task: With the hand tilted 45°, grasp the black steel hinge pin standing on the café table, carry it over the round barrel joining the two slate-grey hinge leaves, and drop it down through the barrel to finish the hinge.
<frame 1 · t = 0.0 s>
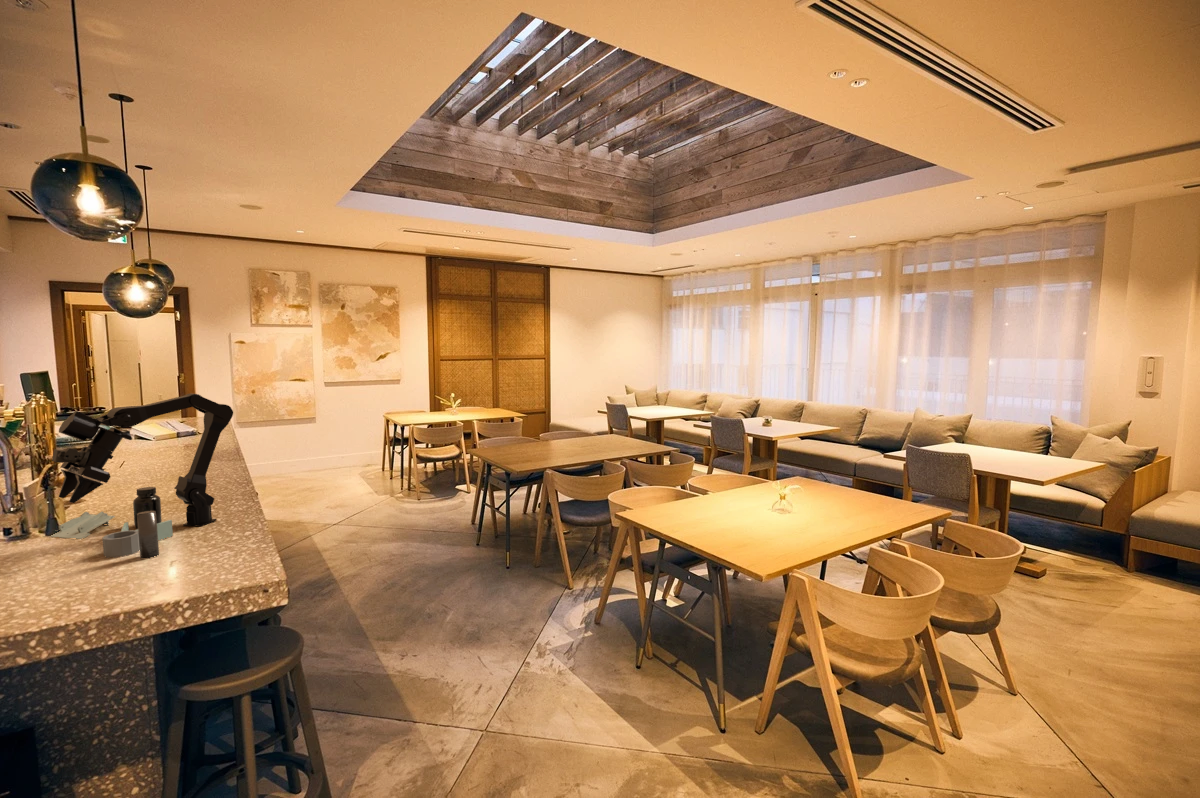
hand: (66, 500, 155), 15 cm above the countertop, tool tilted 35°, fingers open, 9 cm apart
hinge pin: (149, 556, 153), on the countertop
metal bracket: (83, 533, 175), on the countertop
hinge: (122, 552, 156), on the countertop
supplement bottle: (148, 525, 180), on the countertop
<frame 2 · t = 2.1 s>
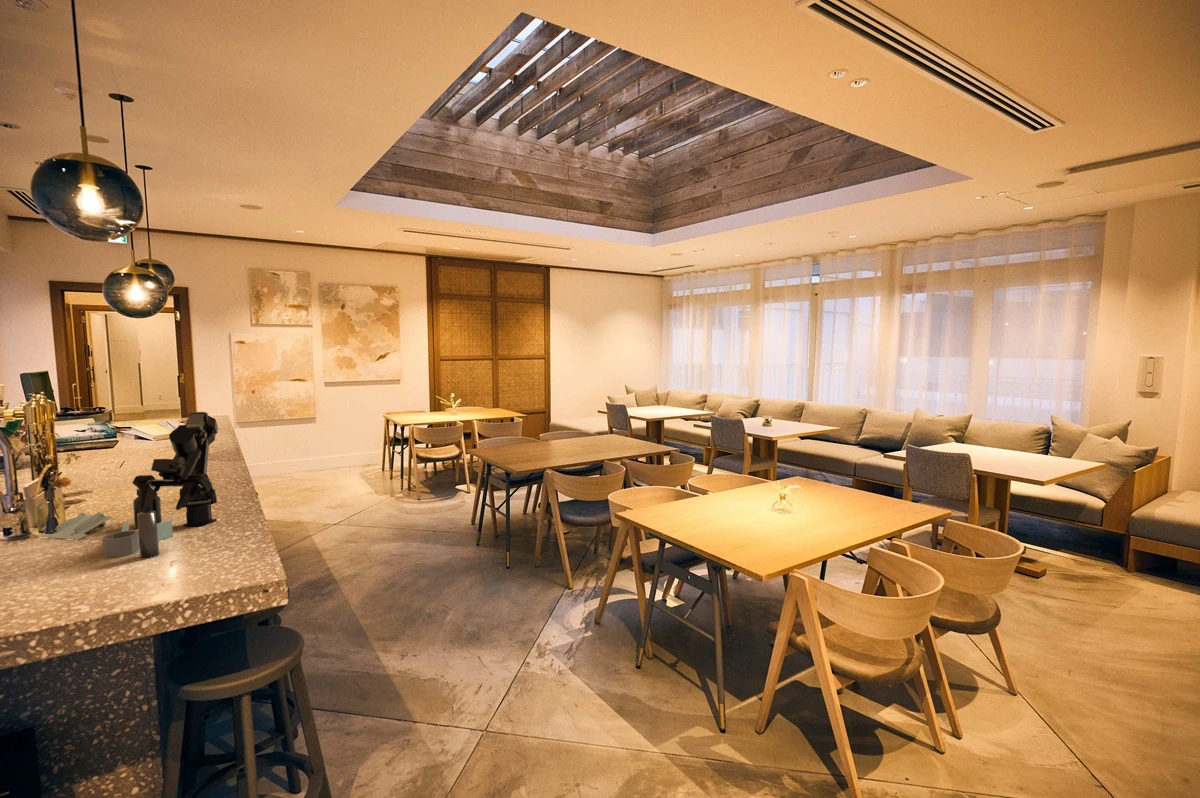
hand: (159, 509, 157), 11 cm above the countertop, tool tilted 45°, fingers open, 9 cm apart
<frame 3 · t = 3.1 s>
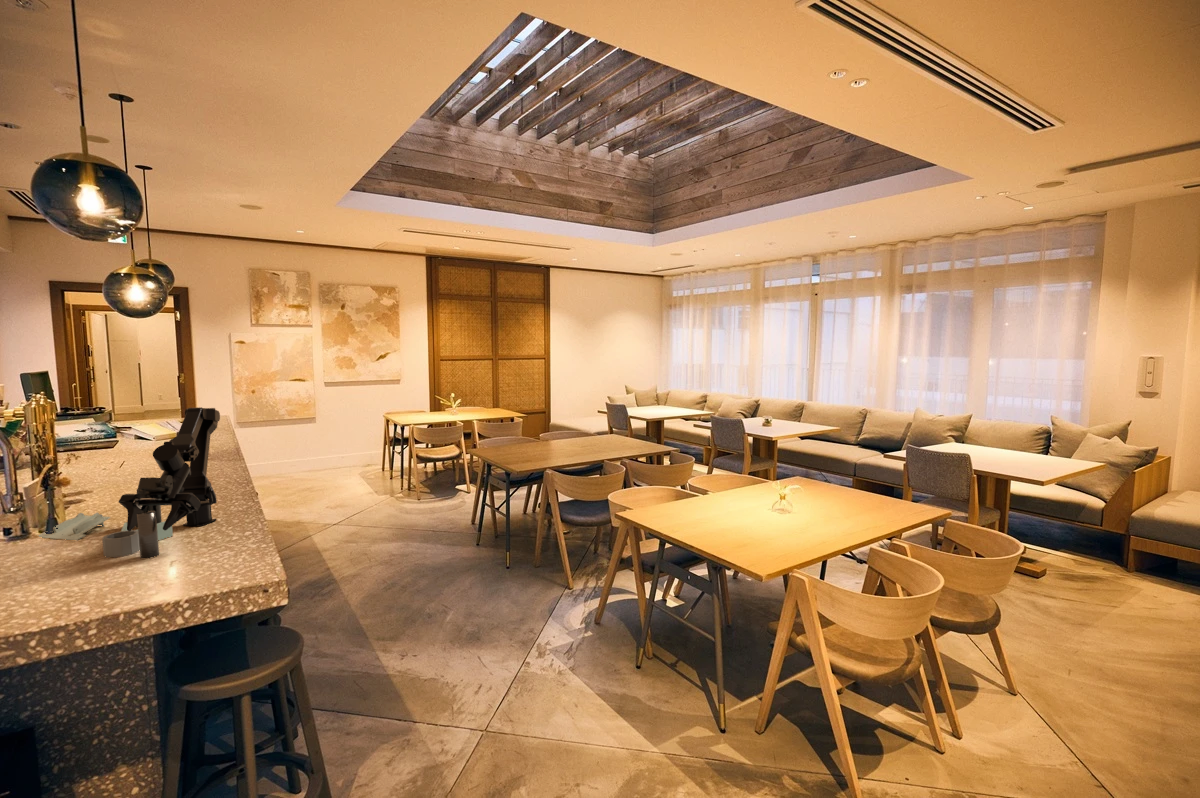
hand: (146, 530, 152), 7 cm above the countertop, tool tilted 45°, fingers open, 9 cm apart
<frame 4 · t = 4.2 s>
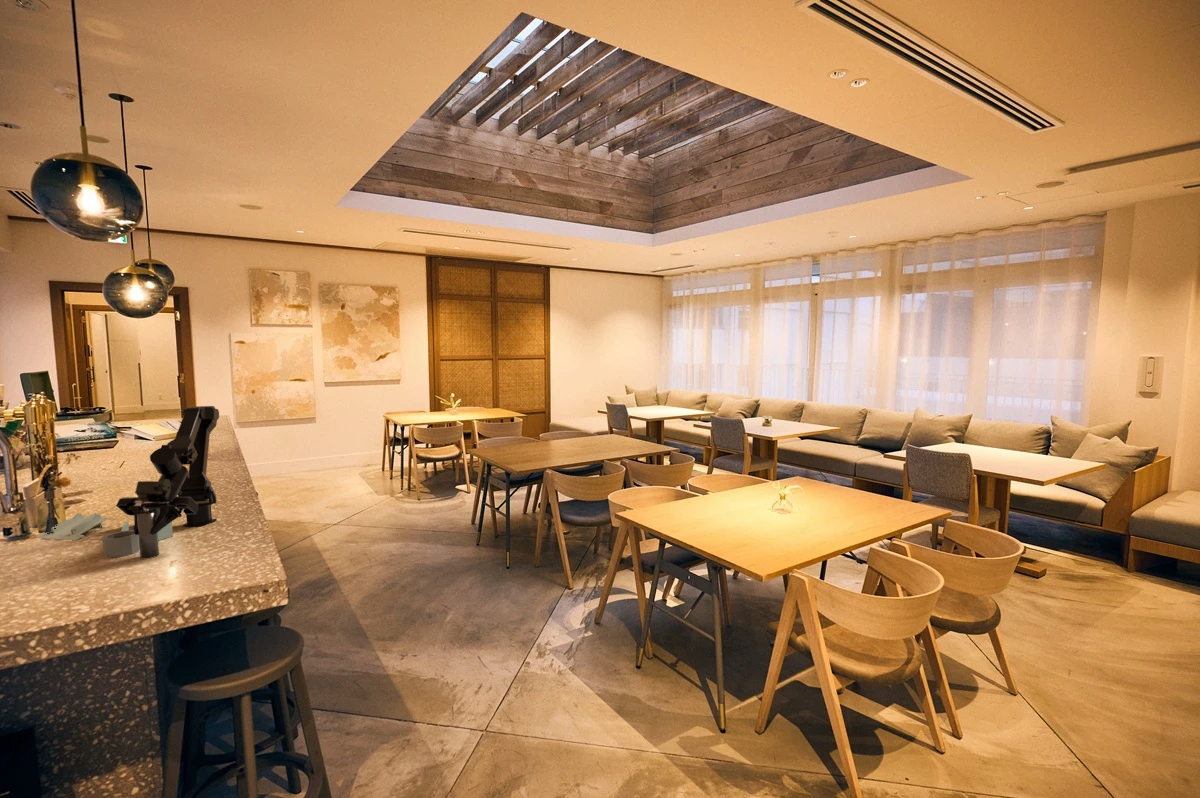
hand: (144, 534, 151), 7 cm above the countertop, tool tilted 45°, fingers closed on hinge pin, 4 cm apart
hinge pin: (149, 556, 153), on the countertop, touching gripper
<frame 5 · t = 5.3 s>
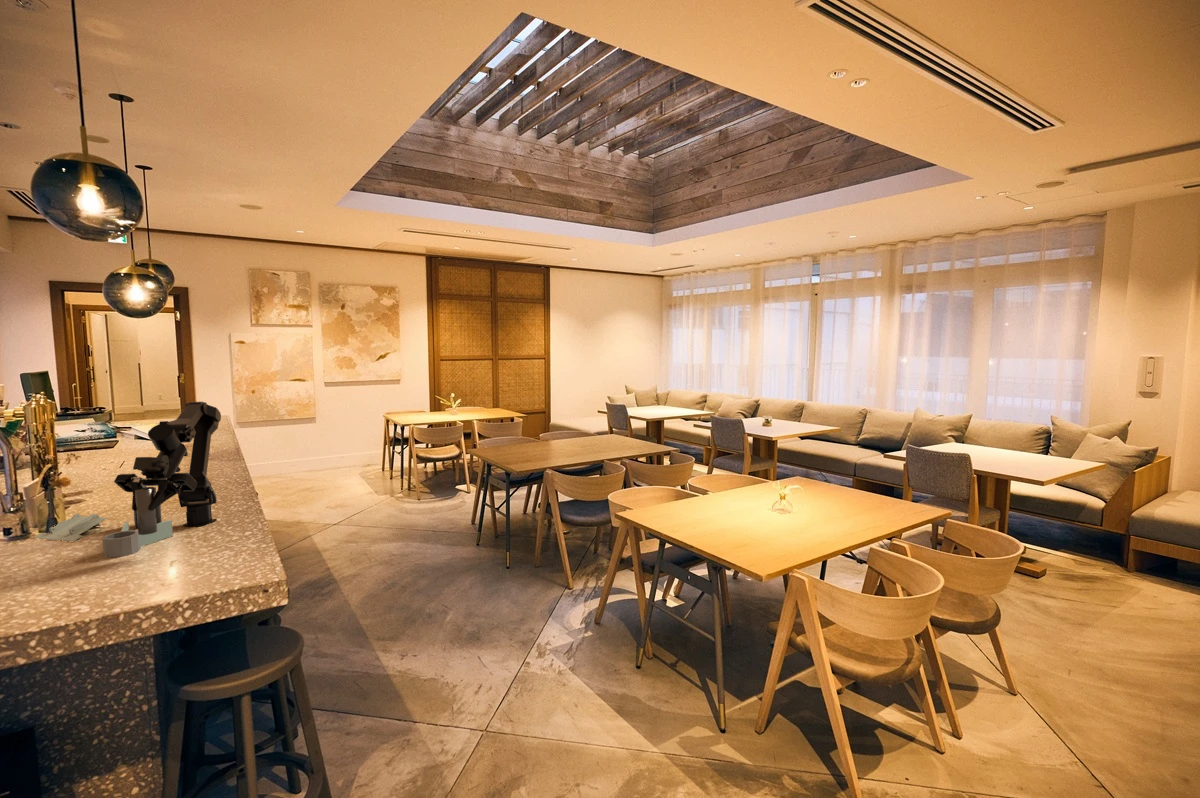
hand: (142, 509, 151), 13 cm above the countertop, tool tilted 45°, fingers closed on hinge pin, 4 cm apart
hinge pin: (147, 532, 153), point 7 cm above the countertop, touching gripper
when the fingers open (12 cm above the countertop, at t = 6.8 s): hinge pin drops 6 cm, resting in hinge.
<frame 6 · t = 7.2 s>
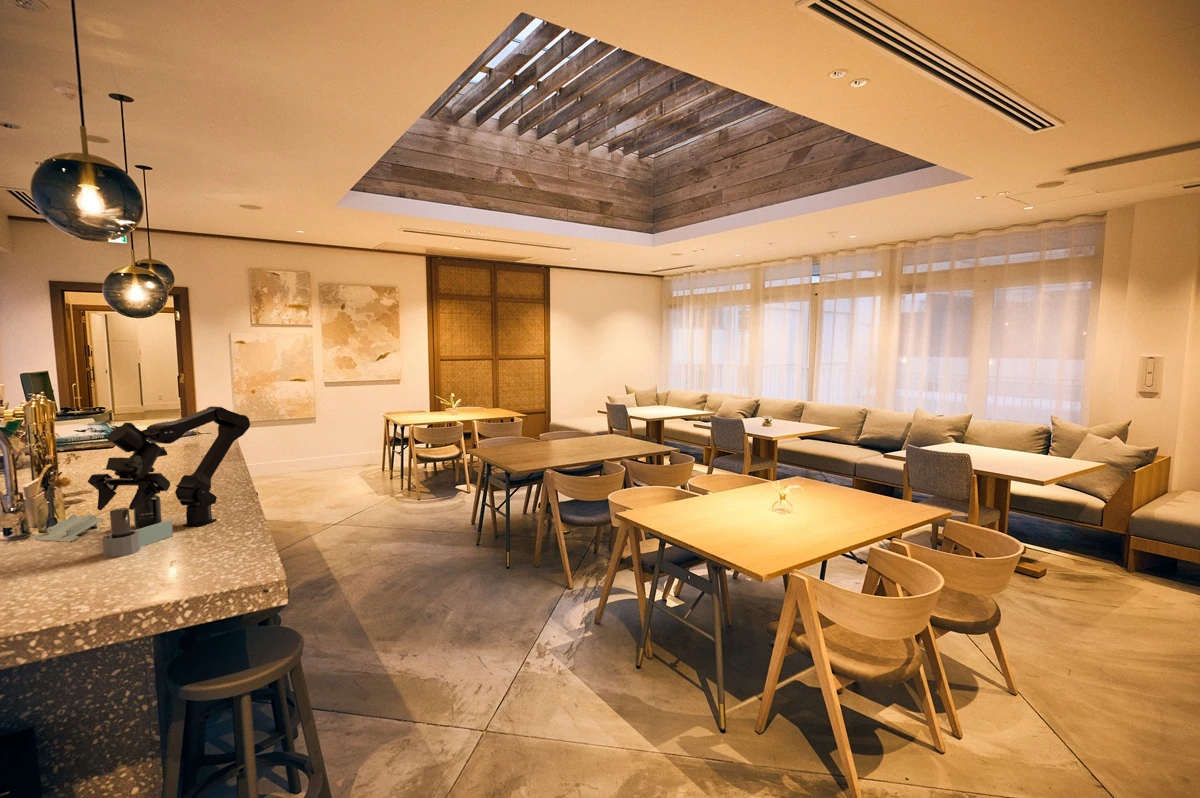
hand: (114, 509, 154), 13 cm above the countertop, tool tilted 45°, fingers open, 8 cm apart
hinge pin: (122, 552, 156), resting in hinge
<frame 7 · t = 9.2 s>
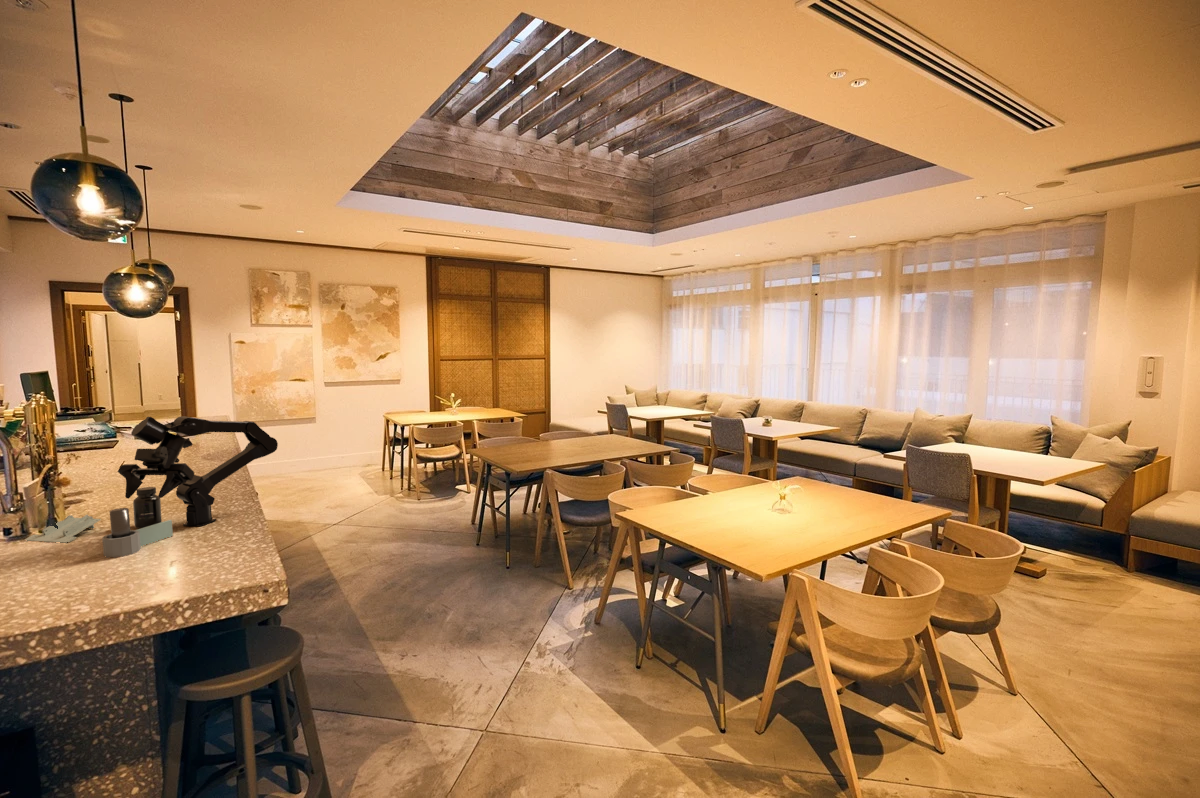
hand: (143, 497, 163), 13 cm above the countertop, tool tilted 45°, fingers open, 9 cm apart
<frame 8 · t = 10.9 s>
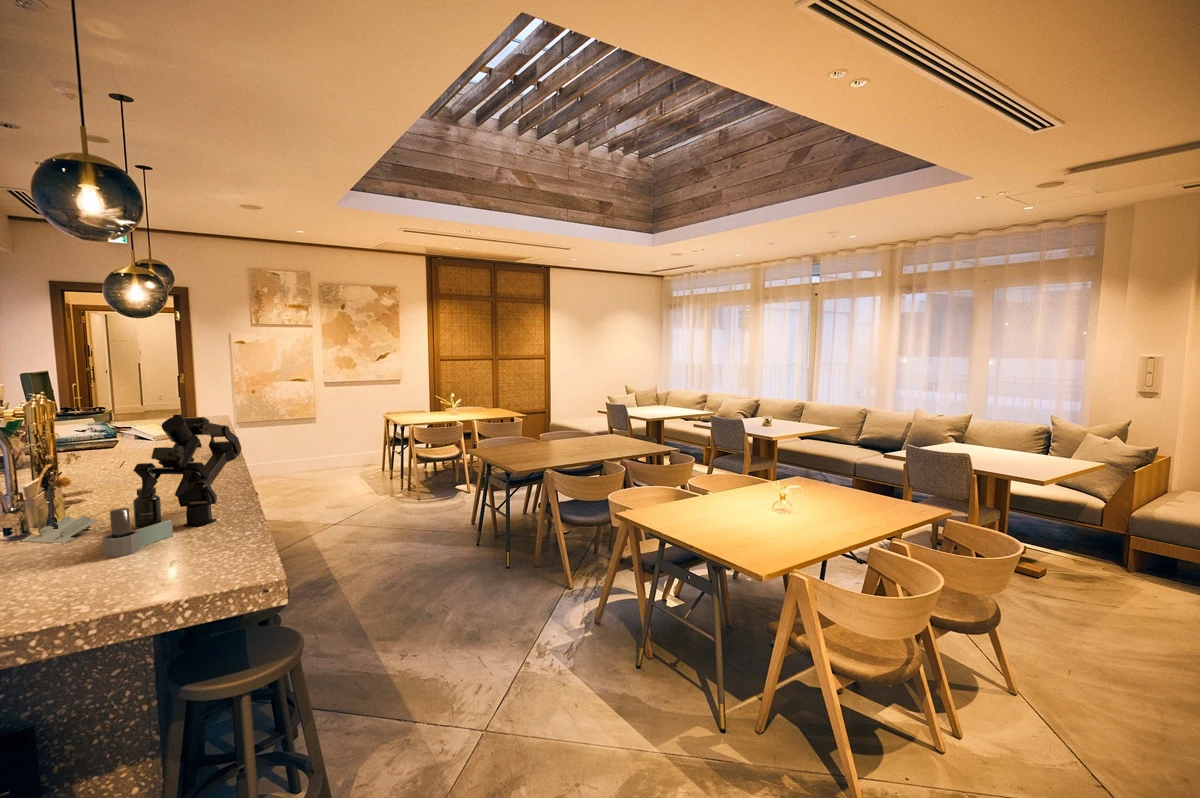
hand: (159, 496, 163), 14 cm above the countertop, tool tilted 45°, fingers open, 9 cm apart
at the end: hinge pin 0.1 cm from the hinge (horizontally); hinge pin resting in hinge; hinge pin tilted 0° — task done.
